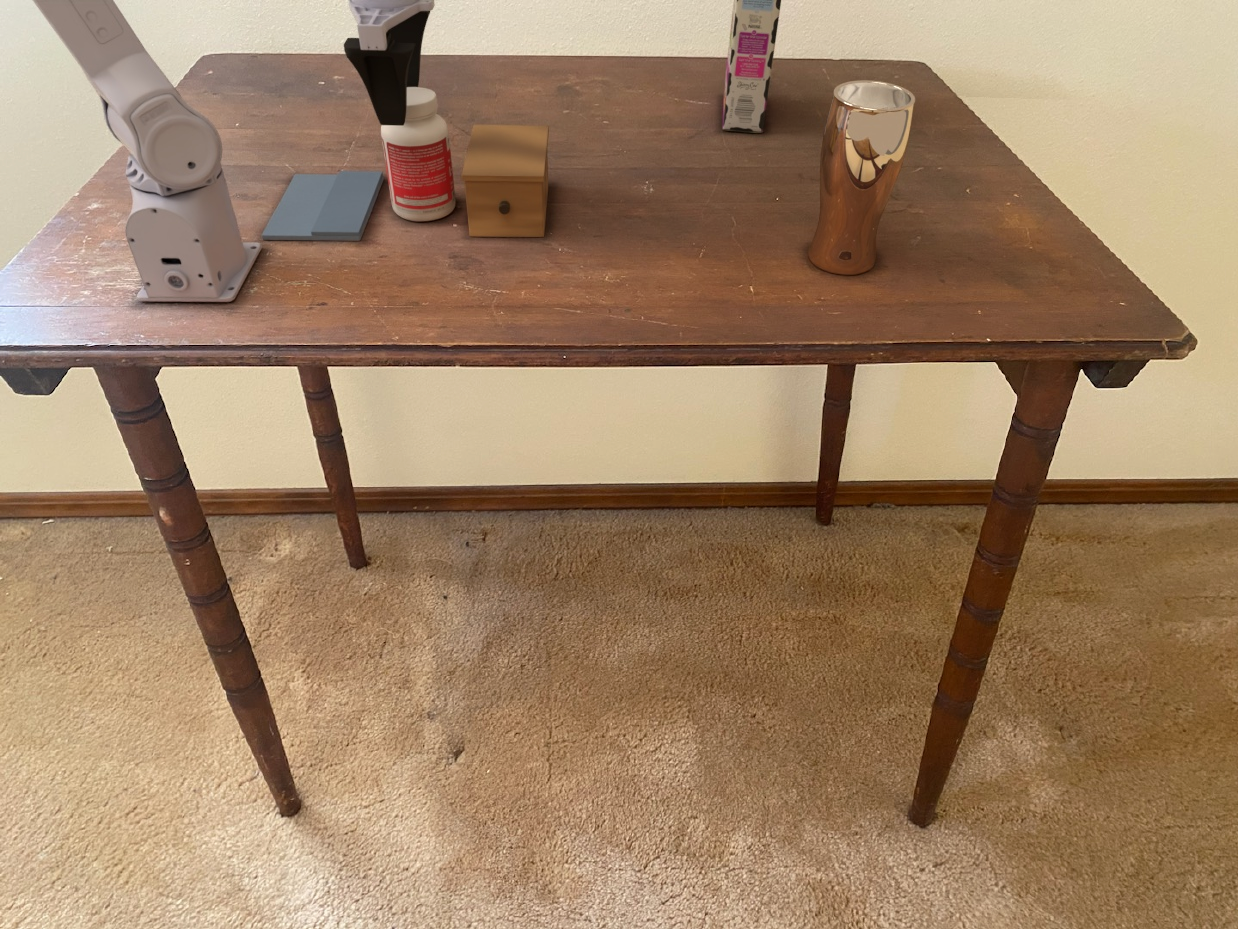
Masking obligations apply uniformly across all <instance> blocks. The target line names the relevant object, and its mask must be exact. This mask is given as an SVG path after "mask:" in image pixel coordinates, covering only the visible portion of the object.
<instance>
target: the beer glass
mask: <svg viewBox="0 0 1238 929" xmlns="http://www.w3.org/2000/svg"><path fill="white" fill-rule="evenodd" d="M915 102H916V96H915V95H914V94H913V93H912V92H911V91H910V90H908V89H907V88H905V87H902V86H900V85H897V84H894V83H891V82H886V81H880V80H870V79H869V80H868V79H867V80H866V79H865V80H862V79H861V80H851V81H846V82H843V83H840V84H838V85H837V86H836V87H834V89H833V93H832V99H831V103H830V107H829V110H828V114H827V118H826V122H825V127H824V131H823V136H822V143H821V150H820V160H819V161H820V162H819V213H818V214H819V216H818V222H817V226H816V229H815V232H814V235H813V237H812V240H811V243H810V246H809V249H808V253H807V254H808V259H809V261H810V262H811V263H812V264H813V265H814V266H815V267H816V268H819V269H820V270H822V271H825V272H827V273H831V274H834V275H835V274H836V275H841V276H855V275H861V274H864V273H866V272H868V271H870V270H871V269H873V267H874V265H875V263H876V259H877V258H876V257H877V256H876V255H877V236H878V229H879V225H880V222H881V219H882V216H883V213H884V212H885V209H886V207H887V203H888V202H889V200H890V197H891V195H892V192H893V190H894V188H895V186H896V183H897V181H898V178H899V176H900V172H901V169H902V167H903V164H904V160H905V156H906V153H907V149H908V144H909V138H910V133H911V128H912V120H913V112H914V106H915Z"/></svg>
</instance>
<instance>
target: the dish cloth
mask: <svg viewBox="0 0 1238 929" xmlns="http://www.w3.org/2000/svg"><path fill="white" fill-rule="evenodd" d="M384 179H385V178H384V172H383V171H382V170H339V171H338V173H337V174H335V173H334V174H327V173H325V174H324V173H323V174H322V173H321V174H320V173H295V174H294V175H293V177H292V179H291V181H290V183H289V184H288V186H287V188H286V190H285V192H284V194H283V195H282V197H281V199H280V200H279V203H278V205H277V207H276V208H275V210H274V212H273V214H272V215H271V217H270V218H269V221H268V222H267V225H266V226H265V228H264V230H263V232H262V234H261V239H262V241H332V242H333V241H334V242H335V241H336V242H337V241H338V242H340V241H341V242H343V241H344V242H345V241H346V242H348V241H349V242H350V241H351V242H352V241H353V242H360V241H361V240H362V237H363V235H364V232H365V229H366V227H367V225H368V222H369V219H370V216H371V213H372V212H373V209H374V206H375V203H376V200H377V198H378V195H379V193H380V190H381V187H382V185H383V183H384Z"/></svg>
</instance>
